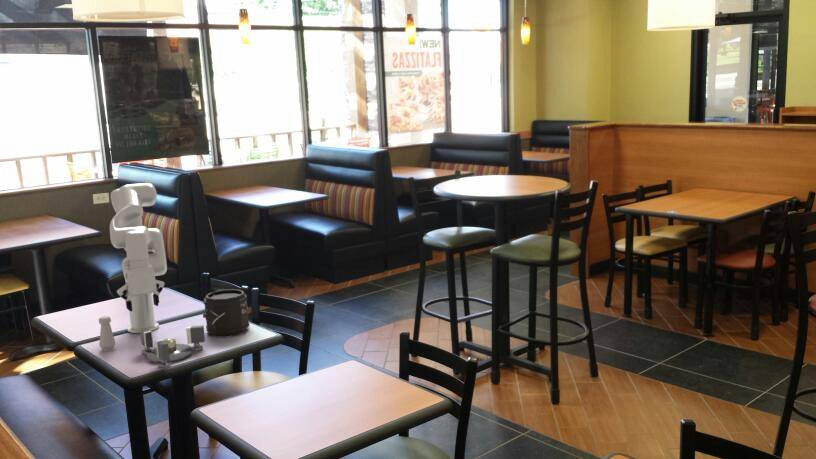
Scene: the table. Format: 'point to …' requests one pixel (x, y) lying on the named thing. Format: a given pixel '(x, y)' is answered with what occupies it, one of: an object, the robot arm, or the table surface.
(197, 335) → the knob near left
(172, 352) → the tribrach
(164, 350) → the knob front
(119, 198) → the robot arm
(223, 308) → the wooden barrel
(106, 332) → the salt shaker
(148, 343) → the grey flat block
